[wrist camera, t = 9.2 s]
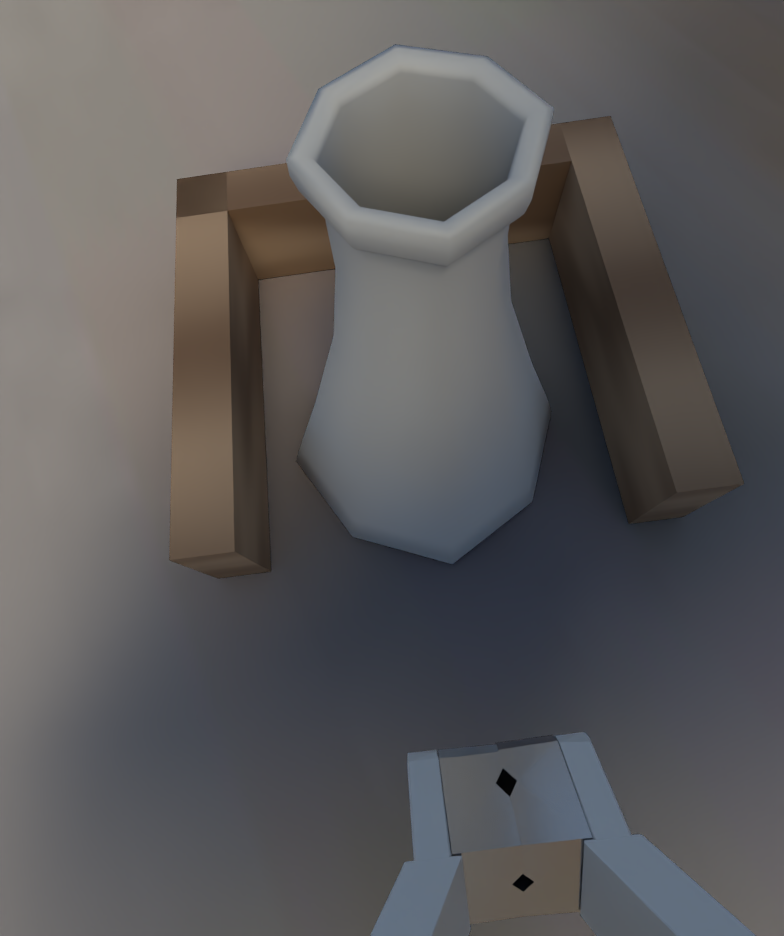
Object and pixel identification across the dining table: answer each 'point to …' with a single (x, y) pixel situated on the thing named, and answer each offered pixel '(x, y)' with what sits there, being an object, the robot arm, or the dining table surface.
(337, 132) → the flask
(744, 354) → the dining table surface
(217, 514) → the walnut bay
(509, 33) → the dining table surface
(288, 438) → the dining table surface
